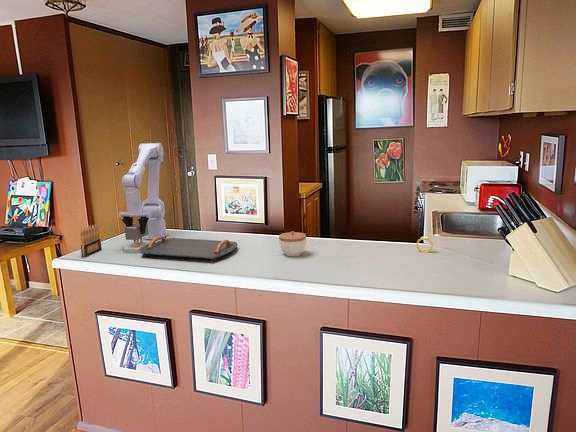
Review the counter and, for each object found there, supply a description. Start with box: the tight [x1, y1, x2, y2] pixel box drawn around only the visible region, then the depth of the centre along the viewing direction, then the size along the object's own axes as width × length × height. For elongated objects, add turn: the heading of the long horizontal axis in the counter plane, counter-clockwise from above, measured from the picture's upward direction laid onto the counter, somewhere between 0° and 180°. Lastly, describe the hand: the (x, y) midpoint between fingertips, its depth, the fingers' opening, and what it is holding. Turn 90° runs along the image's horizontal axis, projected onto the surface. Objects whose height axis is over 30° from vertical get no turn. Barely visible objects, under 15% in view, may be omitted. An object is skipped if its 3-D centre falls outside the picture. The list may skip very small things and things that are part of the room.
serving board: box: [140, 236, 238, 263], centre depth 188 cm, size 39×23×6 cm, turn 72°
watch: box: [416, 236, 434, 253], centre depth 178 cm, size 6×3×6 cm, turn 71°
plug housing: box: [124, 222, 148, 241], centre depth 195 cm, size 10×5×5 cm, turn 168°
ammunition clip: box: [80, 223, 103, 258], centre depth 190 cm, size 11×2×12 cm, turn 166°
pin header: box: [122, 237, 151, 254], centre depth 196 cm, size 13×7×4 cm, turn 168°
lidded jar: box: [278, 230, 307, 257], centre depth 180 cm, size 11×11×9 cm
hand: (137, 233), depth 195 cm, fingers closed on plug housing, 5 cm apart
